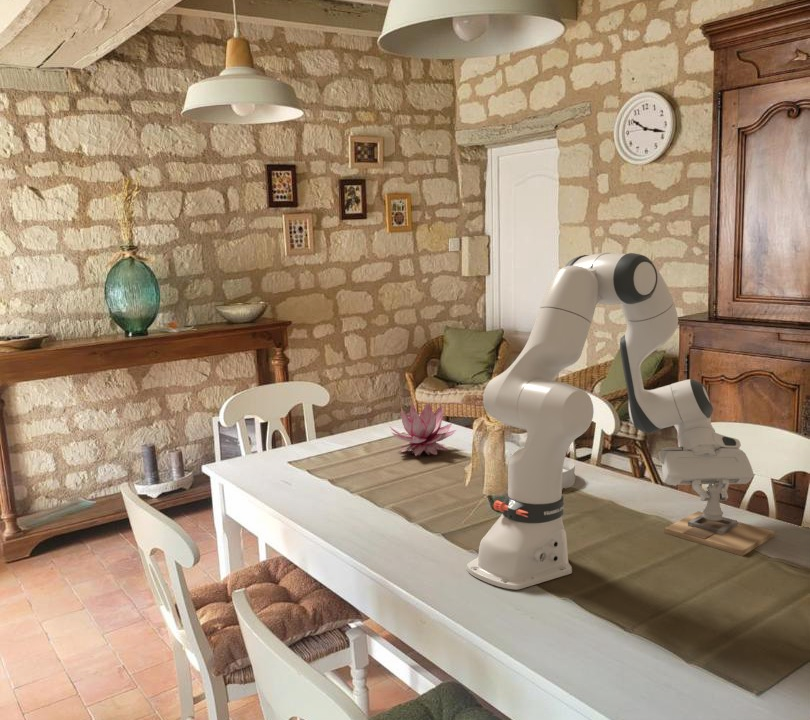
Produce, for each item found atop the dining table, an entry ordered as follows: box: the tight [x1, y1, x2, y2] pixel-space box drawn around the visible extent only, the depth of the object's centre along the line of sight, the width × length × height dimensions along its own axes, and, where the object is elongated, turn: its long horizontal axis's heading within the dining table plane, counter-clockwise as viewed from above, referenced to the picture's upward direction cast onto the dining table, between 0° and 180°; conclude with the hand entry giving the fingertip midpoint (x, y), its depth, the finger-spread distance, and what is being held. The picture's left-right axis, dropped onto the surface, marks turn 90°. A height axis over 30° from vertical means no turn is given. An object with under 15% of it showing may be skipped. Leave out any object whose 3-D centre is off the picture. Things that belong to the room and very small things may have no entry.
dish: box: [562, 457, 576, 489], centre depth 212 cm, size 22×22×5 cm
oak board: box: [663, 511, 775, 557], centre depth 170 cm, size 16×18×2 cm
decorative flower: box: [389, 402, 457, 456], centre depth 240 cm, size 21×21×15 cm
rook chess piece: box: [702, 483, 724, 521], centre depth 171 cm, size 4×4×8 cm
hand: (714, 499), depth 170 cm, fingers closed on rook chess piece, 3 cm apart
